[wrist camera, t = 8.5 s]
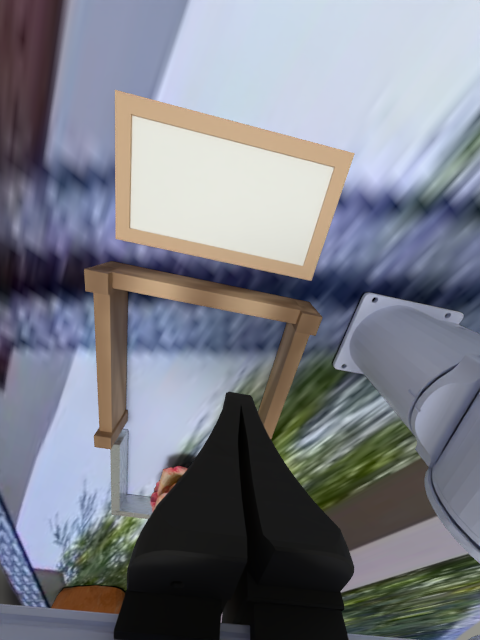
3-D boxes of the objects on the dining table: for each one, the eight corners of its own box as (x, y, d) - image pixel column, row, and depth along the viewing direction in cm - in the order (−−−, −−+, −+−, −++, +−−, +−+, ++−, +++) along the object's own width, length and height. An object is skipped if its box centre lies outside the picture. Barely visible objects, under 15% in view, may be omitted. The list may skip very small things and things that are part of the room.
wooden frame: (309, 302, 20) (322, 317, 17) (260, 441, 27) (263, 471, 24) (111, 261, 19) (84, 269, 16) (113, 418, 26) (94, 446, 23)
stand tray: (252, 448, 28) (253, 464, 26) (231, 511, 33) (230, 528, 31) (119, 428, 27) (110, 443, 25) (119, 497, 32) (111, 514, 30)
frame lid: (350, 156, 16) (354, 153, 15) (308, 278, 20) (311, 280, 19) (120, 95, 15) (114, 89, 14) (119, 238, 18) (115, 238, 18)
